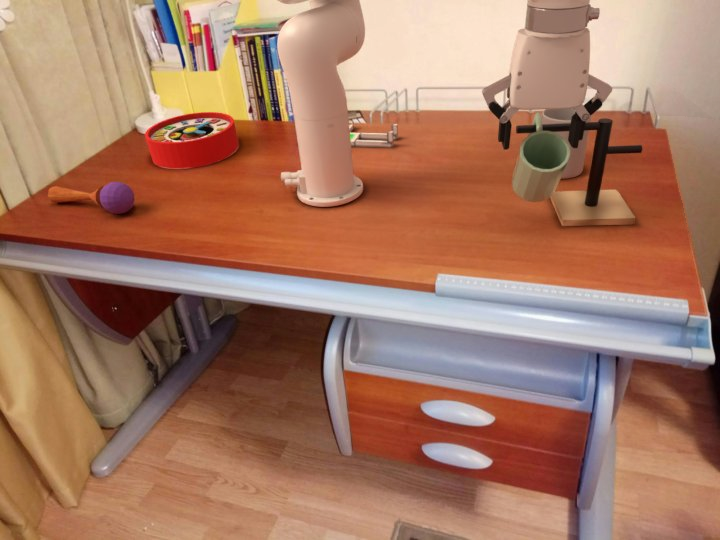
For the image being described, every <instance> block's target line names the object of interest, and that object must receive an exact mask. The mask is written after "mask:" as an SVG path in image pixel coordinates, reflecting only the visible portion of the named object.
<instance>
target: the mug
mask: <svg viewBox="0 0 720 540" xmlns="http://www.w3.org/2000/svg"><path fill="white" fill-rule="evenodd" d="M575 112H576V111H575V110H574V109H573V108H570V109H544V110H543V111H542V113H541V118H542V124H563V123H571V118H572V116H573V114H575ZM591 120H592V115H591V116H590V118H589V120H587V121H586V122H592V121H591ZM589 132H590V130H587V131H584V134H583V139H582V140H579V143H578V148H573V147H571V145H570V143H569V141H568V136H569V131H565V132H555V133H557V134H559V135H560V136H562V137H563V138H564V139H565V140H566V141H567V143H568V144H569V146H570V157H569V160H568V162H567V165H566V167H565V169H564V172H563V174H562V176H561V179H560V180H565V179H572V178H576V177H578V176H580V175H581V174H582V173H583V171H584V166H585V160H586V159H585V158H586V151H587V145H588V139H589Z"/></svg>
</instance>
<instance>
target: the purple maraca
mask: <svg viewBox="0 0 720 540" xmlns="http://www.w3.org/2000/svg"><path fill="white" fill-rule="evenodd" d="M47 197H48V199H49V201H50V202H52V203H53V204H57V203H67V202H69V203H70V202H77V201H89V200H91V201H92V202H93V203H95V204H96V205H98V206H99V207H100V208H102V209H105V210H106V211H108V212H109V213H112V214H114V215H115V214H116V215H120V214H125V213H127V212H129V211H130V210H131V209H132V208H133V206H134V204H135V201H136V200H135V192H134V191H133V189H132V188H131V187H130V186H129V185H128V184H127V183H124V182H122V181H111V182H109V183H107V184H105V185H101V186H100V187H98V188H96V189H95V190H94V191H93V192H86V191H82V190H76V189H72V188H68V187H63V186H57V185H54V186H51V187H49V189H48V191H47Z"/></svg>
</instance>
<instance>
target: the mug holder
mask: <svg viewBox="0 0 720 540" xmlns="http://www.w3.org/2000/svg"><path fill="white" fill-rule="evenodd" d="M613 122H614V121H613V119H611V118H605V117H604V118H599V119H598V121H590V122H586V123H585V129H584V131H587V130H589V131H595V138H594V143H593V144H594V145H593V151H592V156H591V162H590V167H589V173H588V181H587V186H586V190H584V189H583V190H559V191H557V190H556V191H555V192H554V194H553V195H552V196H551V197H550V198H549V199H550V202H551V204H552V206H553V208H554V210H555V213H556V215H557V218H558V220H559V222H560V224H561V227H587V226H588V227H589V226H619V225H620V226H622V225H623V226H627V225H635V223H636V218H637V217H636V216H635V214H634V213H633V212H632V210H631V208H630V207H629V205H628V204H627V203H626V201H625V199H624V198H623V196H622V194H620V192H619V191H618V189H615V188H614V189H602V188H601V187H602V182H603V176H604V172H605V166H606V160H607V155H622V154H623V155H624V154H641V153H643V145H642V144H634V145H632V144H631V145H610V146H609V143H610V138H611V134H612V127H613ZM570 124H571V123H563V124H542V127H543V131H551V132H565V131H569V130H570ZM534 132H537V131H536V125H532V124H522V125H516V126H515V133H516V134H530V133H534Z"/></svg>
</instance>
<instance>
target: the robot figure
mask: <svg viewBox="0 0 720 540" xmlns="http://www.w3.org/2000/svg"><path fill="white" fill-rule="evenodd" d="M349 130H350V140H351V147H353V148H354V147H356V148H357V147H358V148H387V149H388V148H389V149H393V148H394V146H395V144H394V143H395V142H394V141H398V139H399V127H398V123H394V124H391V131H389V130H388V131H387V132H385V133H384V132H353V131H354V130H355V125H354V123H349Z"/></svg>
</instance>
